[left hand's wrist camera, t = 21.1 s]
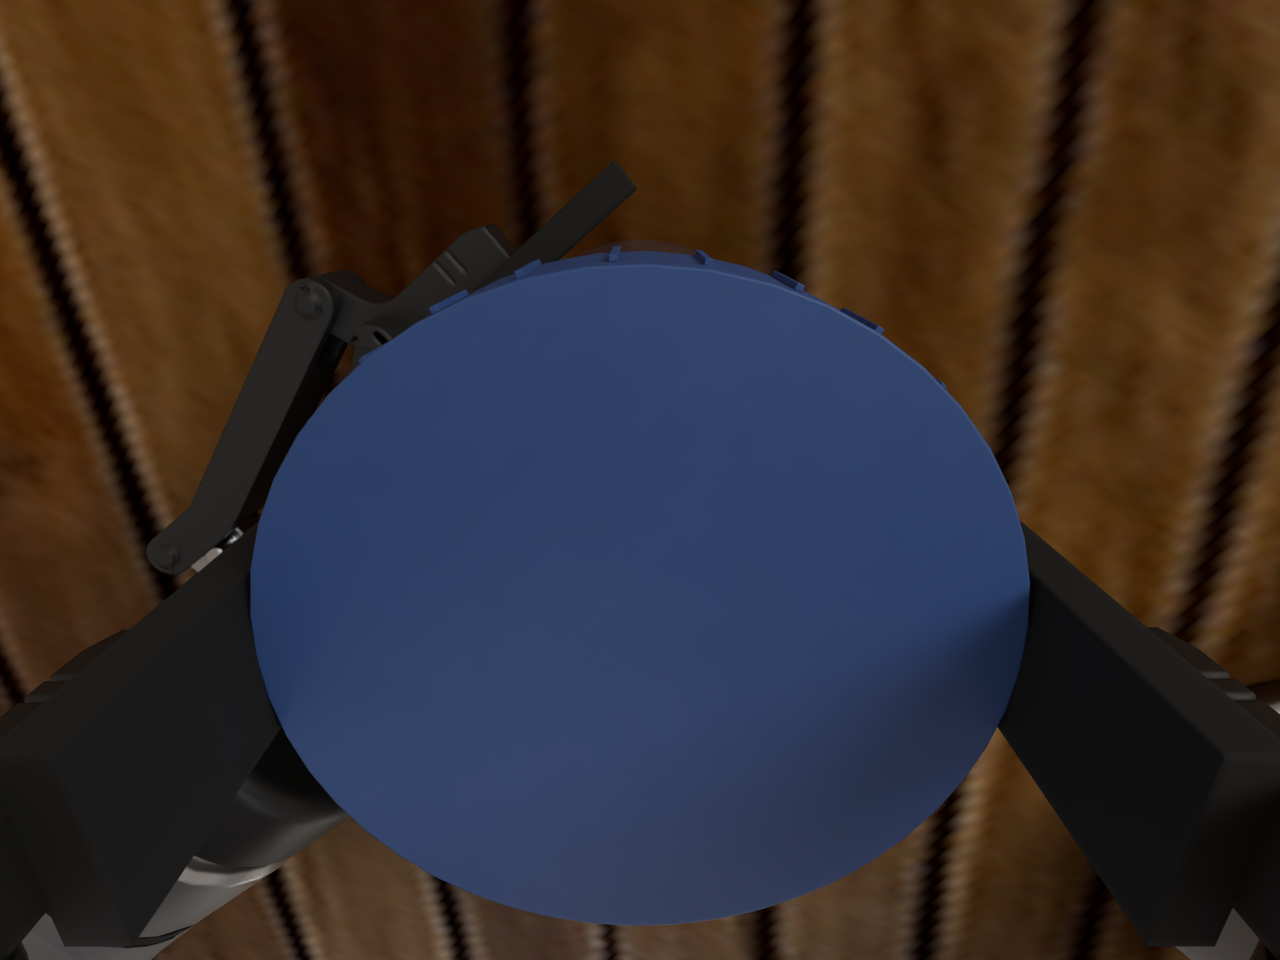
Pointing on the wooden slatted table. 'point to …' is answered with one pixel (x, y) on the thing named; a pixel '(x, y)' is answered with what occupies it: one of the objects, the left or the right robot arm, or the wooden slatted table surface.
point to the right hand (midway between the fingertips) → (760, 349)
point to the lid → (639, 591)
